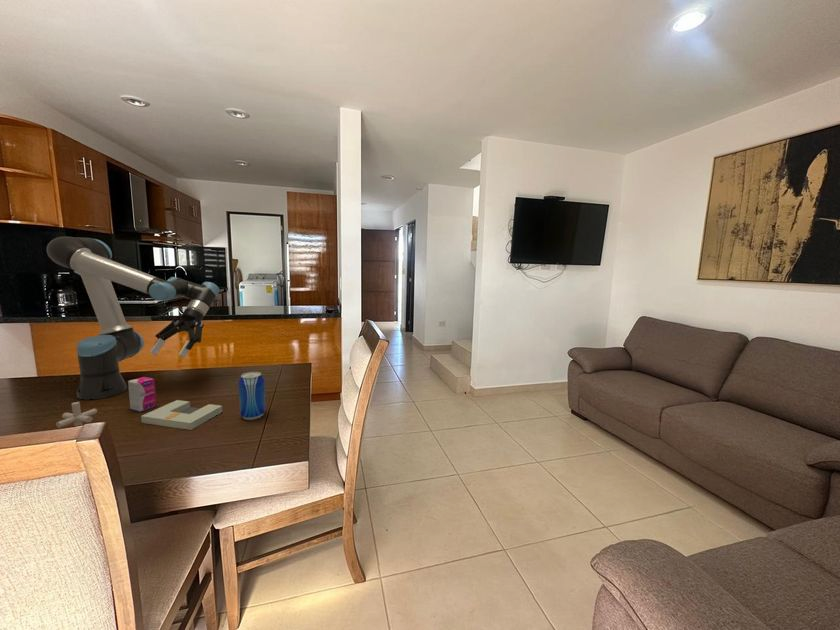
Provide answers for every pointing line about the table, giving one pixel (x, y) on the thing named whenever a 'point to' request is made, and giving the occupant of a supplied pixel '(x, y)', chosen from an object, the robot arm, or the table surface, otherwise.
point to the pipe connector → (76, 416)
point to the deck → (181, 415)
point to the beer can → (251, 395)
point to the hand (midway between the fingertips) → (167, 355)
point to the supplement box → (142, 394)
